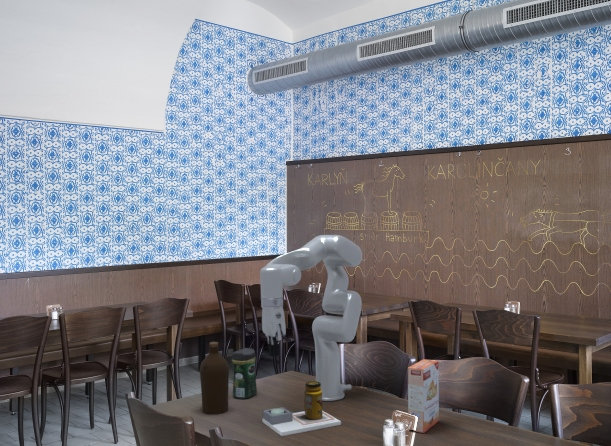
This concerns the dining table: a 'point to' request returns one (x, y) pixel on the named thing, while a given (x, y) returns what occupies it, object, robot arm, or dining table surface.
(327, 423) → the board
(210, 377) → the olive oil
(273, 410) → the button
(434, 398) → the cracker box
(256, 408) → the dining table surface
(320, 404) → the condiment
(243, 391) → the coffee jar
